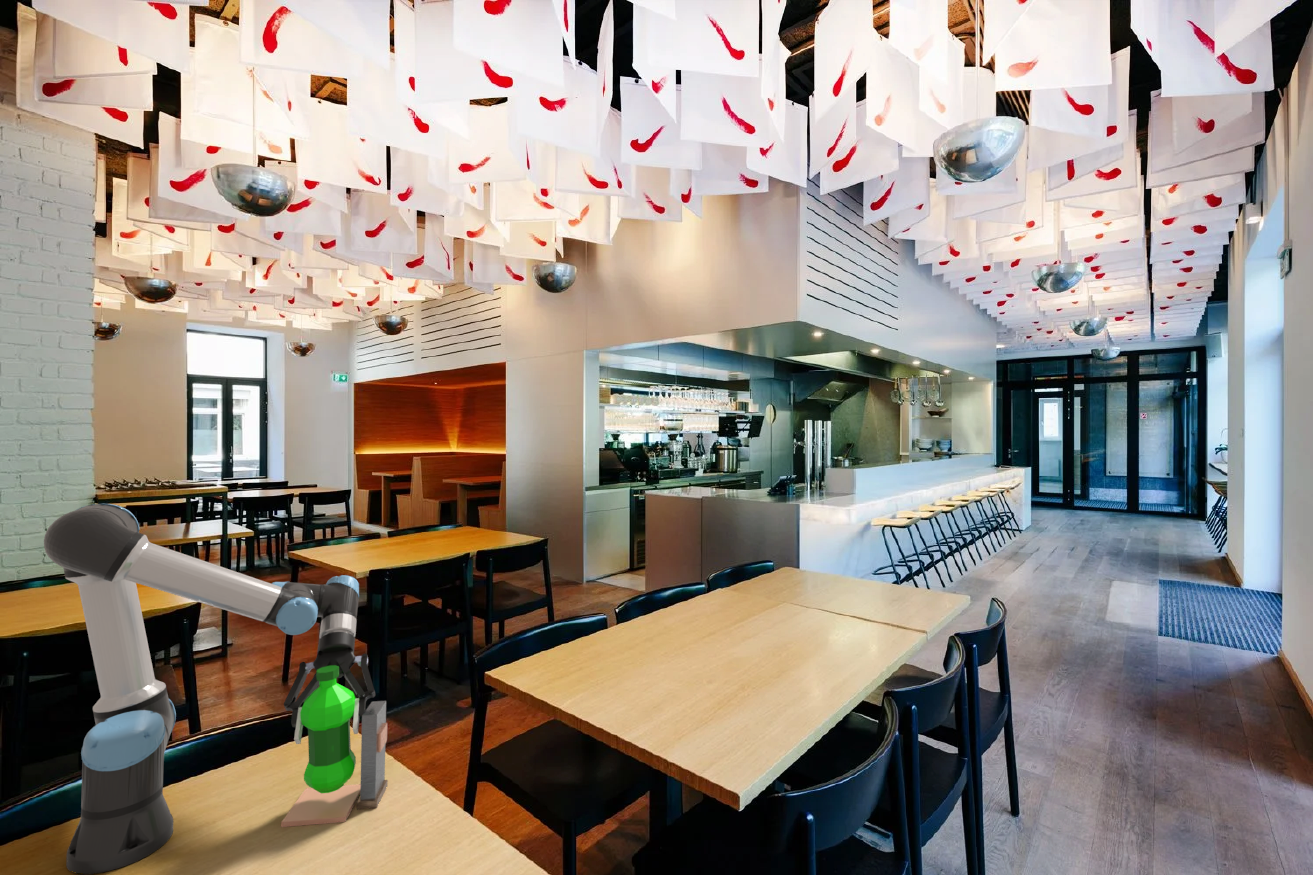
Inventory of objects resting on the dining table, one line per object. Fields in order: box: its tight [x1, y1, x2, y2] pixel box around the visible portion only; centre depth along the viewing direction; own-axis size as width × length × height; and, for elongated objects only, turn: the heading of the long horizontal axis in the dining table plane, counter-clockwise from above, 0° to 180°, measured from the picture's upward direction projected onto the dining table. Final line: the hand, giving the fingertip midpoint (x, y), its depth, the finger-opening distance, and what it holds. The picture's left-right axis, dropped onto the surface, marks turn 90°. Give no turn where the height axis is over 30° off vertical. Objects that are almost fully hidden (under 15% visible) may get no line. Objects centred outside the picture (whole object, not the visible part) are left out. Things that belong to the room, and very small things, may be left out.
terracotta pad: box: [280, 783, 361, 828], centre depth 127 cm, size 12×12×1 cm
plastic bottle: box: [300, 665, 357, 793], centre depth 127 cm, size 10×10×25 cm
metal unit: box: [356, 700, 389, 810], centre depth 131 cm, size 4×8×20 cm, turn 10°
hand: (326, 736), depth 125 cm, fingers closed on plastic bottle, 10 cm apart
